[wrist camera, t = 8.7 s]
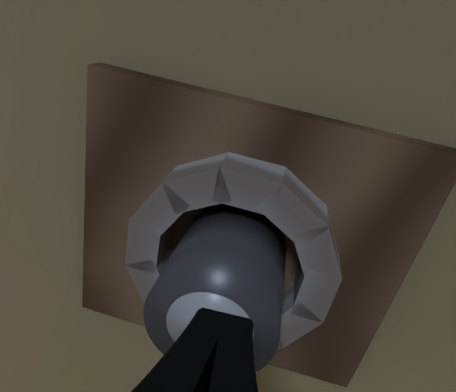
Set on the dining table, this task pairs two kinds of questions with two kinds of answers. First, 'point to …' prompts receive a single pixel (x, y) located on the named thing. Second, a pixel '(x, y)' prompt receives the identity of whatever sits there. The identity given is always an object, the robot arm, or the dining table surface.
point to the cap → (222, 278)
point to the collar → (256, 204)
